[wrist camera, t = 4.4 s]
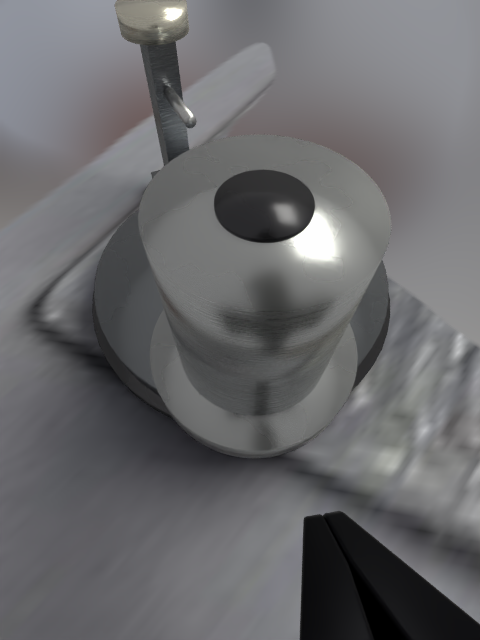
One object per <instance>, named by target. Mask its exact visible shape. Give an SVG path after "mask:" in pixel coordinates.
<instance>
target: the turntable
mask: <svg viewBox="0 0 480 640" xmlns="http://www.w3.org/2000/svg"><path fill="white" fill-rule="evenodd" d="M138 214H139V209H138V210H137V211H136V212H135V213H133V214H132V215H131V216H130V217H129V218H128V219H127V220H126V221H125V222H124V223H123V224H122V225H121V226H120V227H119V228H118V230H117V231H116V232H115V234H114V235H113V236H112V238H111V239H110V241H109V243H108V245H107V246H106V248H105V250H104V252H103V254H102V257H101V259H100V262H99V265H98V268H97V273H96V278H95V289H94V294H93V311H92V313H93V320H94V328H95V332H96V335H97V338H98V342H99V345H100V347H101V349H102V351H103V353H104V355H105V357H106V359H107V361H108V363H109V364H110V365H111V367H112V368H113V370H114V371H115V372H116V374H117V375H118V377H119V378H120V379H121V381H122V382H123V383H124V384H125V385H126V386H127V387H128V388H129V389H130V390H131V391H132V392H133V393H134V394H135V395H136V396H137V397H138V398H140V399H141V400H143V401H144V402H145V403H147V404H148V405H149V406H151V407H152V408H153V409H155V410H157V411H159V412H161V413H163V414H165V415H166V416H168V417H170V418H172V419H174V418H173V417H172V416H171V414H170V412H169V411H168V409H167V407H166V405H165V403H164V401H163V400H162V398H161V396H160V394H159V392H158V390H157V388H156V385H155V382H154V380H153V376H152V371H151V366H150V346H151V339H152V335H153V330H154V328H155V325H156V323H157V320H158V318H159V316H160V314H161V313H162V311H163V309H164V307H163V304H162V301H161V298H160V295H159V292H158V289H157V286H156V283H155V280H154V277H153V273H152V270H151V267H150V264H149V261H148V258H147V255H146V252H145V249H144V246H143V243H142V239H141V235H140V231H139V224H138ZM389 319H390V298H389V292H388V281H387V275H386V270H385V267H384V264H383V261H382V260H381V262H380V264H379V266H378V268H377V270H376V272H375V274H374V276H373V278H372V280H371V282H370V284H369V286H368V288H367V289H366V291H365V293H364V295H363V297H362V299H361V301H360V303H359V305H358V307H357V309H356V311H355V313H354V315H353V317H352V319H351V321H350V325H351V328H352V330H353V333H354V337H355V341H356V346H357V355H358V360H357V372H356V377H355V382H354V385H353V387H352V390H353V389H354V388H355V387H356V386H357V385H358V384H359V383H360V382H361V380H362V379H363V378H364V376H365V375H366V374H367V373H368V371H369V370H370V369H371V367H372V366H373V365H374V363H375V361H376V359H377V357H378V355H379V353H380V351H381V350H382V347H383V344H384V341H385V338H386V335H387V332H388V325H389ZM352 390H351V391H352Z"/></svg>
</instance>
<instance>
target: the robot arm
mask: <svg viewBox="0 0 480 640" xmlns="http://www.w3.org/2000/svg"><path fill="white" fill-rule="evenodd" d="M300 640H480V624H479V623H478V622H476V621H475V620H474V619H473V618H472V617H470V616H469V615H468V614H467V613H465V612H464V611H463V610H462V609H461V608H459V607H458V606H457V605H456V604H455V603H453V602H452V601H451V600H450V599H448V598H447V597H446V596H445V595H444V594H442V593H441V592H440V591H439V590H437V589H436V588H435V587H434V586H433V585H431V584H430V583H429V582H428V581H426V580H425V579H424V578H423V577H422V576H420V575H419V574H418V573H417V572H415V571H414V570H413V569H412V568H411V567H409V566H408V565H407V564H406V563H404V562H403V561H402V560H401V559H400V558H398V557H397V556H396V555H395V554H393V553H392V552H391V551H390V550H389V549H387V548H386V547H385V546H384V545H383V544H381V543H380V542H379V541H378V540H376V539H375V538H374V537H373V536H372V535H370V534H369V533H368V532H367V531H365V530H364V529H363V528H362V527H361V526H359V525H358V524H357V523H356V522H354V521H353V520H352V519H351V518H350V517H348V516H347V515H346V514H345V513H343V512H341V511H336V512H330V513H325V514H324V515H323V516H322V515H320V514H319V515H313V516H307V517H305V518H304V526H303V556H302V587H301V618H300Z"/></svg>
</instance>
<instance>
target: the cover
mask: <svg viewBox="0 0 480 640" xmlns="http://www.w3.org/2000/svg"><path fill="white" fill-rule="evenodd" d="M138 224H139V231H140V235H141V239H142V243H143V246H144V249H145V252H146V255H147V258H148V261H149V264H150V267H151V270H152V273H153V277H154V280H155V283H156V286H157V289H158V292H159V295H160V298H161V301H162V304H163V307H164V309H163V311H162V313H161V314H160V316H159V318H158V320H157V323H156V325H155V328H154V330H153V335H152V339H151V346H150V366H151V371H152V376H153V380H154V382H155V385H156V388H157V390H158V392H159V394H160V396H161V398H162V400H163V401H164V403H165V405H166V407H167V409H168V411H169V412H170V414H171V416H172V417H173V418H174V420H175V421H176V422H177V424H178V425H179V426H180V427H181V428H182V429H183V430H184V431H185V432H186V433H187V434H188V435H190V436H191V437H192V438H194V439H195V440H196V441H198V442H199V443H201V444H203V445H205V446H206V447H208V448H210V449H212V450H215V451H218V452H220V453H223V454H226V455H231V456H235V457H241V458H268V457H273V456H278V455H282V454H285V453H288V452H291V451H294V450H296V449H298V448H300V447H302V446H304V445H306V444H307V443H309V442H310V441H311V440H313V439H314V438H316V437H317V436H318V435H319V434H320V433H321V432H322V431H323V430H324V429H325V428H326V427H327V426H328V425H329V424H330V422H331V421H332V420H333V419H334V417H335V416H336V415H337V414H338V412H339V411H340V410H341V408H342V407H343V406H344V404H345V402H346V400H347V399H348V397H349V395H350V393H351V390H352V387H353V385H354V382H355V377H356V372H357V360H358V355H357V346H356V341H355V337H354V333H353V330H352V328H351V325H350V321H351V319H352V317H353V315H354V313H355V311H356V309H357V307H358V305H359V303H360V301H361V299H362V297H363V295H364V293H365V291H366V289H367V288H368V286H369V284H370V282H371V280H372V278H373V276H374V274H375V272H376V270H377V268H378V266H379V264H380V262H381V260H382V258H383V256H384V254H385V252H386V249H387V247H388V244H389V239H390V234H391V217H390V212H389V208H388V205H387V203H386V200H385V198H384V196H383V194H382V193H381V191H380V189H379V187H378V186H377V185H376V183H375V182H374V181H373V180H372V178H371V177H370V176H369V175H367V173H366V172H365V171H363V170H362V169H361V168H360V167H359V166H357V165H356V164H355V163H353V162H352V161H350V160H349V159H347V158H346V157H344V156H342V155H340V154H339V153H337V152H335V151H333V150H331V149H328V148H326V147H323V146H321V145H318V144H315V143H312V142H309V141H305V140H301V139H296V138H291V137H284V136H277V135H244V136H234V137H228V138H223V139H219V140H215V141H211V142H208V143H205V144H202V145H200V146H197V147H195V148H192V149H190V150H188V151H186V152H184V153H183V154H181V155H179V156H178V157H176V158H174V159H173V160H172V161H170V162H169V163H168V164H167V165H165V166H164V167H163V168H162V169H161V170H160V171H159V172H158V173H157V174H156V175H155V176H154V178H153V179H152V180H151V182H150V183H149V184H148V186H147V188H146V190H145V192H144V194H143V197H142V200H141V203H140V206H139V214H138Z"/></svg>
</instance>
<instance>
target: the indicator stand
mask: <svg viewBox="0 0 480 640" xmlns="http://www.w3.org/2000/svg"><path fill="white" fill-rule="evenodd" d="M115 9H116V14H117V17H118V22H119V27H120V31H121V35H122V37H123V38H124V39H126V40H127V41H130V42H132V43H136V44H140V47H141V52H142V57H143V62H144V67H145V72H146V77H147V82H148V87H149V92H150V98H151V102H152V108H153V113H154V118H155V123H156V128H157V133H158V138H159V143H160V148H161V153H162V158H163V163H164V166H165V165H167V164H168V163H169V162H170V161H172V160H173V159H174V158H176V157H178V156H179V155H181V154H183V153H184V152H186V151H188V150H189V145H188V137H187V129H186V127H187V128H193V127H194V126H195V125H196V118H195V117H194V115H193V114H192V113H191V111H190V110H189V109H188V107H187V106H186V105H185V104H184V102H183V97H182V90H181V82H180V74H179V66H178V58H177V50H176V42H175V41H177V40H180V39H181V38H183V37H185V36H186V35H187V34H188V32H189V24H188V14H187V3H186V0H117V1H116V3H115ZM159 171H160V170H158V171H155V172H151V175H152V179H153V178H154V176H155V175H156V174H157V173H158V172H159Z"/></svg>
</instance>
